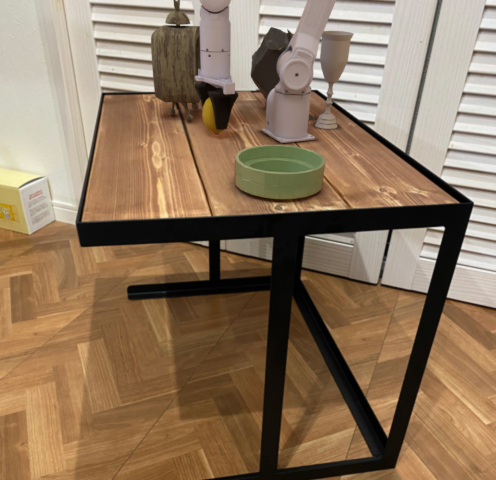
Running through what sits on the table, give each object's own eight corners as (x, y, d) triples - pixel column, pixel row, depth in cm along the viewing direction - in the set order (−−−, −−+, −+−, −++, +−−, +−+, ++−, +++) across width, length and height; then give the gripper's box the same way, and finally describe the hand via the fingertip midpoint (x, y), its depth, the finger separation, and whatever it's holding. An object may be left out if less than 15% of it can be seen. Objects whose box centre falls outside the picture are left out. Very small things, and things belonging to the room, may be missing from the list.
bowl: (221, 176, 86) (221, 149, 83) (295, 167, 91) (297, 141, 88) (257, 208, 75) (259, 178, 73) (338, 195, 80) (342, 167, 78)
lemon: (215, 130, 108) (214, 89, 103) (235, 135, 105) (235, 93, 101) (197, 135, 105) (196, 93, 100) (217, 141, 102) (216, 98, 97)
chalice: (340, 131, 110) (353, 36, 99) (309, 128, 111) (318, 34, 100) (342, 122, 116) (354, 31, 105) (312, 120, 117) (321, 30, 106)
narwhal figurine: (301, 103, 130) (308, 21, 119) (315, 119, 118) (325, 29, 107) (245, 103, 128) (247, 20, 117) (255, 119, 116) (258, 28, 105)
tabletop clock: (197, 125, 111) (192, -13, 96) (155, 123, 111) (145, -15, 96) (203, 109, 123) (200, -17, 108) (165, 107, 123) (157, -18, 108)
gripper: (182, 45, 100) (185, 117, 108) (209, 56, 89) (210, 136, 97) (216, 44, 102) (216, 115, 110) (245, 55, 92) (244, 133, 100)
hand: (216, 125), depth 104 cm, fingers closed on lemon, 5 cm apart
